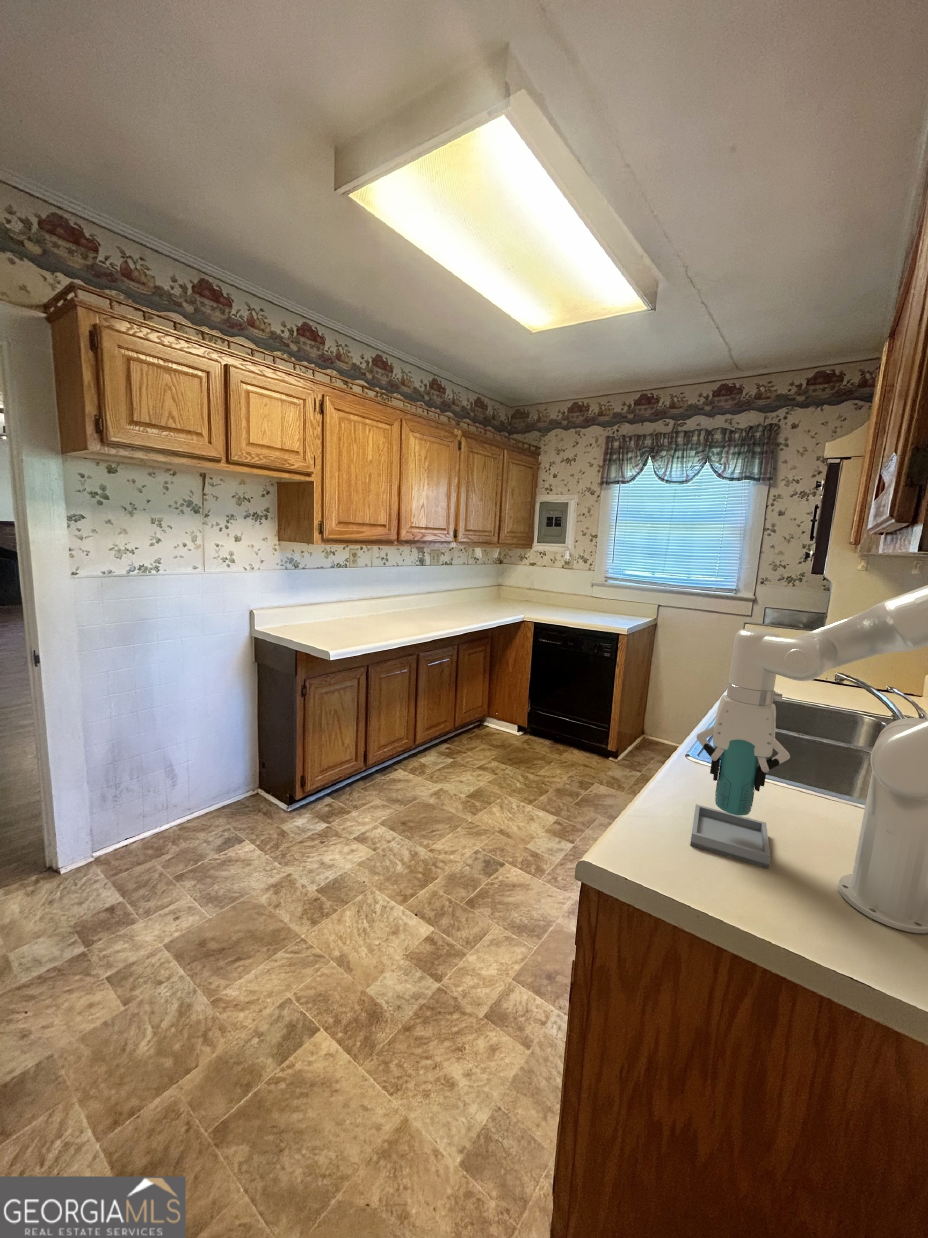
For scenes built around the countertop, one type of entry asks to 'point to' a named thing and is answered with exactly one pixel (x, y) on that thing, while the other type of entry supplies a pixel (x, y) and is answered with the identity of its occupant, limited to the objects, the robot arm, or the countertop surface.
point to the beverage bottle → (737, 778)
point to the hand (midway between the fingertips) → (735, 782)
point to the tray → (731, 836)
